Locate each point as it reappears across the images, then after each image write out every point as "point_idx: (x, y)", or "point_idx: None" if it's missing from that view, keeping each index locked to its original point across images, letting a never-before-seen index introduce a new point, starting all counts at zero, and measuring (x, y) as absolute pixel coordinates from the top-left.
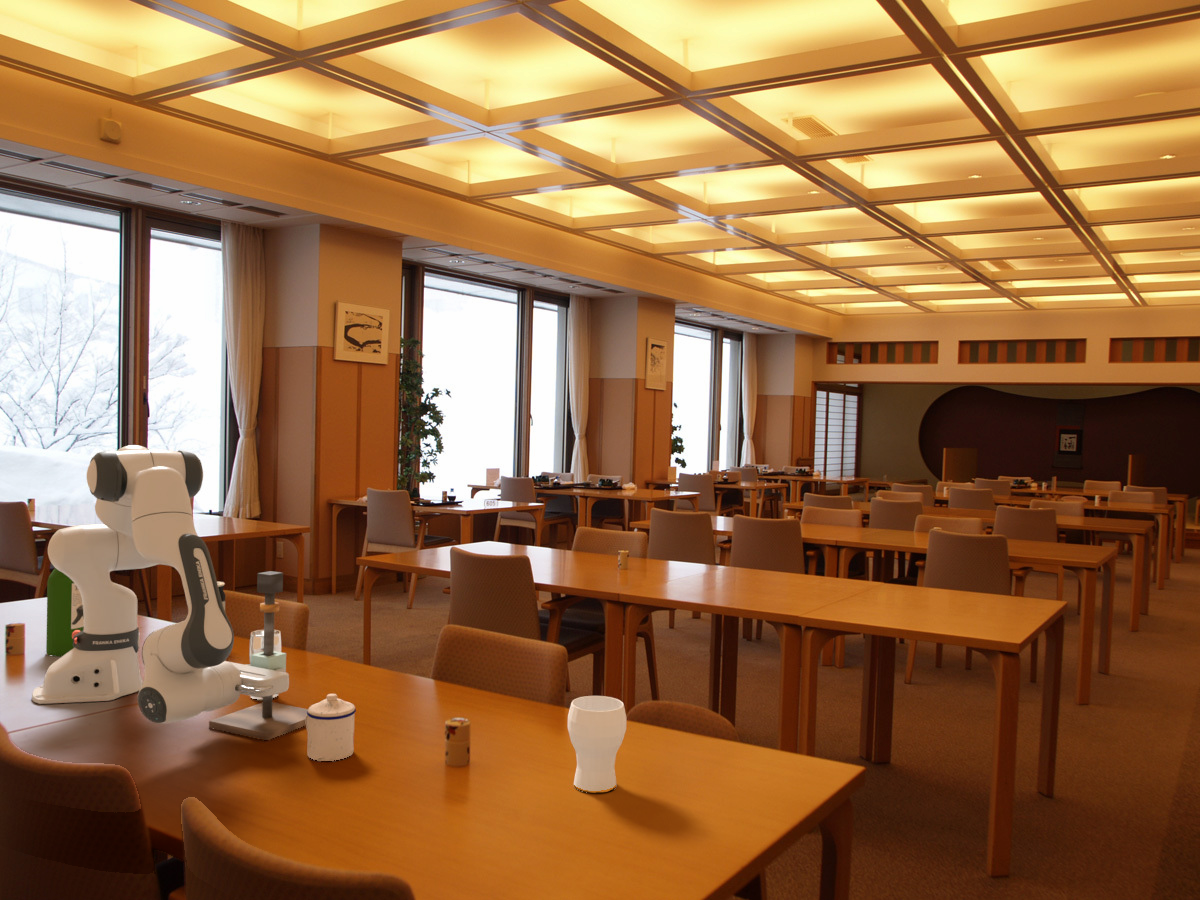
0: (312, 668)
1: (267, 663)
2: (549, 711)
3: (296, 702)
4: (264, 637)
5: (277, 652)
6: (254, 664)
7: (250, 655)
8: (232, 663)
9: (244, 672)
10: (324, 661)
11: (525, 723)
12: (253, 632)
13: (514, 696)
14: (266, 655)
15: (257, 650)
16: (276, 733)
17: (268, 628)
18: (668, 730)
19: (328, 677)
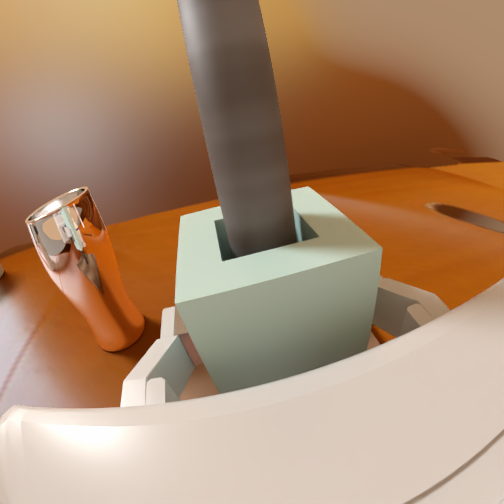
0: None
1: (368, 287)
2: (432, 172)
3: None
4: (231, 101)
5: None
6: (241, 344)
7: (52, 274)
8: (101, 441)
9: (437, 490)
10: (109, 230)
11: (461, 187)
12: (29, 219)
13: (377, 170)
14: (280, 240)
15: (63, 253)
16: None
17: (255, 19)
18: (486, 163)
19: (151, 241)
